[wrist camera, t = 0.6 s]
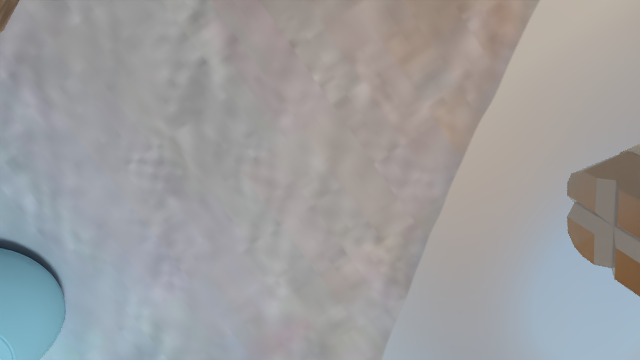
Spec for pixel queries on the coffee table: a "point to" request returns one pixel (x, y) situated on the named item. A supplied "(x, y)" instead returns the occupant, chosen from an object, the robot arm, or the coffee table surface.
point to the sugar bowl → (27, 308)
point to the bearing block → (6, 11)
